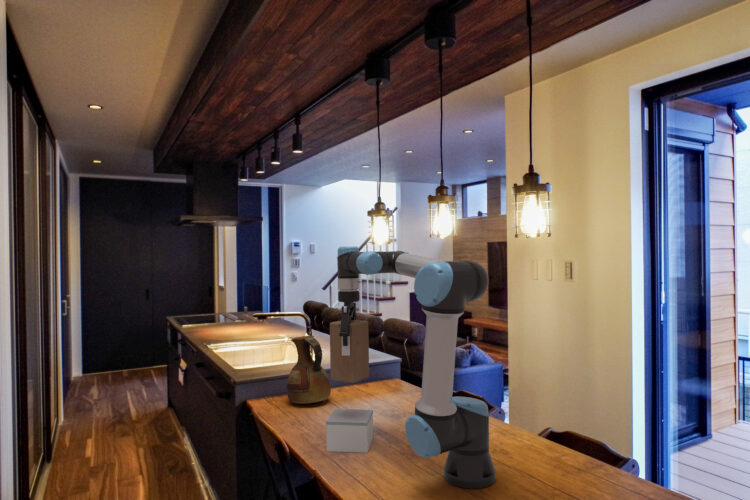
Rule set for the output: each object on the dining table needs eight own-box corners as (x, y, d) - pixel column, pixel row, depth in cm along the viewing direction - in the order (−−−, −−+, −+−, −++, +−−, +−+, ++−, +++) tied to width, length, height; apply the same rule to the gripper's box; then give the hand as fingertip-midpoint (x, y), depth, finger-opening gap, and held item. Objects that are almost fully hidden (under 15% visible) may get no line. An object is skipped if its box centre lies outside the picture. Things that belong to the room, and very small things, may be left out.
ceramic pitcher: (307, 393, 241) (306, 330, 241) (340, 400, 230) (339, 334, 230) (277, 404, 225) (276, 336, 226) (310, 411, 214) (309, 341, 214)
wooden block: (353, 383, 170) (352, 324, 170) (330, 380, 176) (329, 322, 176) (369, 377, 179) (368, 320, 179) (346, 374, 184) (345, 319, 184)
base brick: (367, 452, 169) (366, 422, 169) (326, 451, 171) (326, 421, 171) (373, 437, 183) (372, 409, 183) (335, 436, 185) (335, 408, 185)
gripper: (352, 293, 165) (353, 359, 165) (364, 287, 189) (365, 345, 189) (330, 293, 166) (331, 358, 166) (345, 287, 190) (346, 344, 190)
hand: (349, 351), depth 177 cm, fingers closed on wooden block, 12 cm apart
